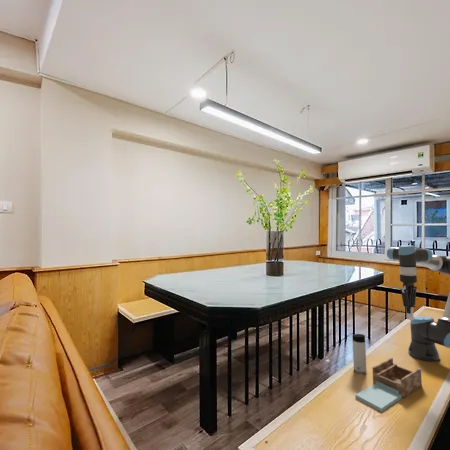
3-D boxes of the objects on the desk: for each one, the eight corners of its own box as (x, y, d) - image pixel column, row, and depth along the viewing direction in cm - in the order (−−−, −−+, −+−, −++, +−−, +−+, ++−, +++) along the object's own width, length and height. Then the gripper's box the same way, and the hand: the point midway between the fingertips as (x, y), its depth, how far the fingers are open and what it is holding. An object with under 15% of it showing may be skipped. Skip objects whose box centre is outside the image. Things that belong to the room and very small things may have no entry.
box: (391, 373, 145) (391, 357, 145) (421, 385, 133) (420, 368, 134) (373, 384, 136) (372, 367, 136) (403, 398, 124) (402, 379, 124)
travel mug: (360, 375, 145) (358, 337, 145) (351, 369, 151) (349, 333, 152) (369, 373, 146) (368, 335, 147) (360, 367, 153) (359, 331, 153)
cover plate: (376, 387, 134) (375, 379, 134) (401, 399, 124) (401, 391, 124) (355, 398, 125) (355, 391, 125) (381, 413, 115) (381, 404, 115)
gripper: (406, 272, 151) (408, 315, 150) (394, 275, 144) (396, 319, 144) (421, 274, 145) (423, 318, 144) (409, 276, 138) (412, 323, 137)
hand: (410, 319), depth 144 cm, fingers closed
